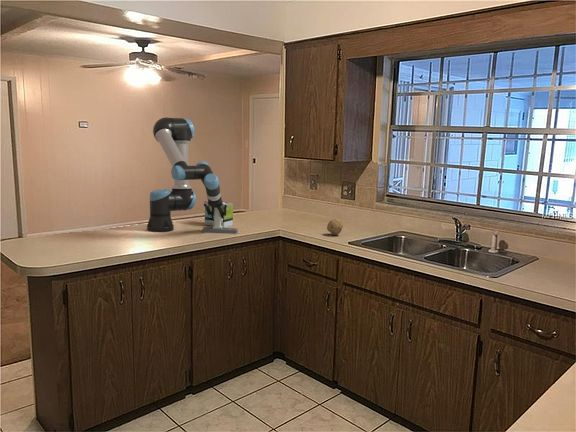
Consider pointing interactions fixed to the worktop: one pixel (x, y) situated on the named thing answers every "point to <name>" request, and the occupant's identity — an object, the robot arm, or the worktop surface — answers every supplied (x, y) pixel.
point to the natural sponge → (335, 226)
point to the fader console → (220, 230)
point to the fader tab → (217, 220)
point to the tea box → (227, 219)
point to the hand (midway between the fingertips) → (218, 220)
